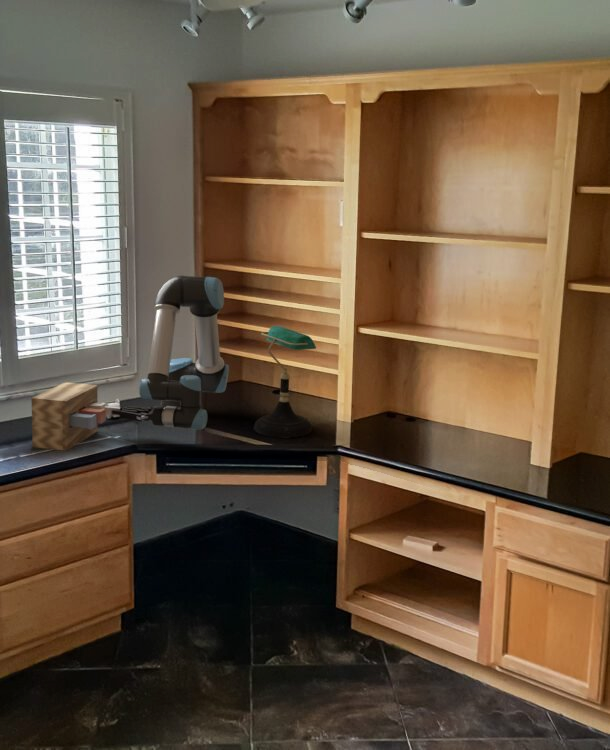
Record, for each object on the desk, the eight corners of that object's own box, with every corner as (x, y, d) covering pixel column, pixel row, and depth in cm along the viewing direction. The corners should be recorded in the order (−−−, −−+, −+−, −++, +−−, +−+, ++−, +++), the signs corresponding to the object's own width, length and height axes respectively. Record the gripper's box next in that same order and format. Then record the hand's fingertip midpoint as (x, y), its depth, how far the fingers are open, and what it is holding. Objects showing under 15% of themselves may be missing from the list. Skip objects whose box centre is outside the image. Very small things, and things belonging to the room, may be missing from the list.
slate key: (96, 426, 313) (96, 414, 312) (91, 429, 309) (91, 417, 308) (65, 423, 315) (64, 411, 314) (59, 426, 311) (59, 414, 310)
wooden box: (97, 431, 334) (97, 385, 330) (66, 450, 309) (65, 401, 305) (65, 427, 336) (65, 382, 332) (32, 447, 311) (31, 397, 308)
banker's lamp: (325, 435, 342) (330, 334, 333) (273, 442, 330) (277, 337, 321) (291, 418, 364) (295, 323, 355) (241, 424, 352) (244, 326, 343)
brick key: (105, 420, 321) (105, 408, 320) (100, 423, 316) (100, 411, 315) (75, 417, 323) (74, 405, 322) (69, 420, 318) (69, 408, 318)
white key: (106, 414, 329) (105, 402, 328) (101, 417, 325) (101, 405, 324) (76, 411, 331) (76, 400, 330) (70, 414, 327) (70, 402, 326)
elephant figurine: (112, 421, 348) (112, 404, 346) (96, 417, 353) (96, 399, 352) (127, 418, 354) (127, 401, 352) (111, 413, 359) (111, 396, 358)
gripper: (158, 430, 316) (97, 424, 321) (171, 421, 329) (112, 415, 333) (158, 410, 315) (97, 404, 319) (171, 401, 327) (111, 396, 332)
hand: (104, 410), depth 326 cm, fingers closed
